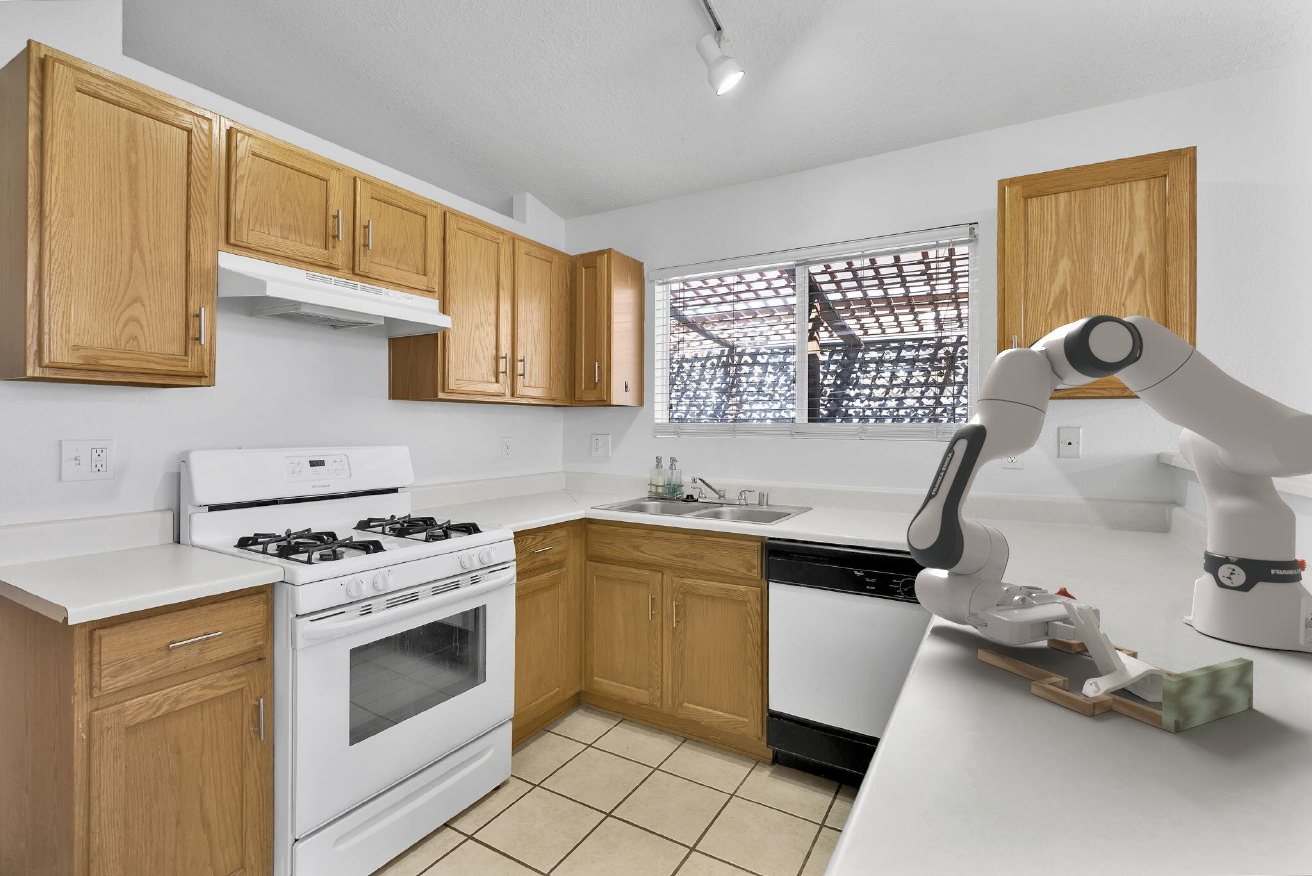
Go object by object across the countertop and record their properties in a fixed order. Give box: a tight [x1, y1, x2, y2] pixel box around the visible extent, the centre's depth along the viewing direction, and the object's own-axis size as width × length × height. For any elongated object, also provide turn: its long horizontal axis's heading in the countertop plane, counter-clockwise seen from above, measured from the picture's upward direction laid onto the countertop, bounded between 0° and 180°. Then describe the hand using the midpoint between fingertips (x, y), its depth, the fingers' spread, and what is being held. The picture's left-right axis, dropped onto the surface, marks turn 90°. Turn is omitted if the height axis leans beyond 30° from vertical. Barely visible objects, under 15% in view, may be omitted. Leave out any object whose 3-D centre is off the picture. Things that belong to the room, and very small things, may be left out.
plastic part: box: [1061, 597, 1168, 703], centre depth 84 cm, size 8×10×12 cm
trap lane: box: [977, 638, 1254, 734], centre depth 87 cm, size 27×26×6 cm
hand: (1093, 636), depth 88 cm, fingers closed
